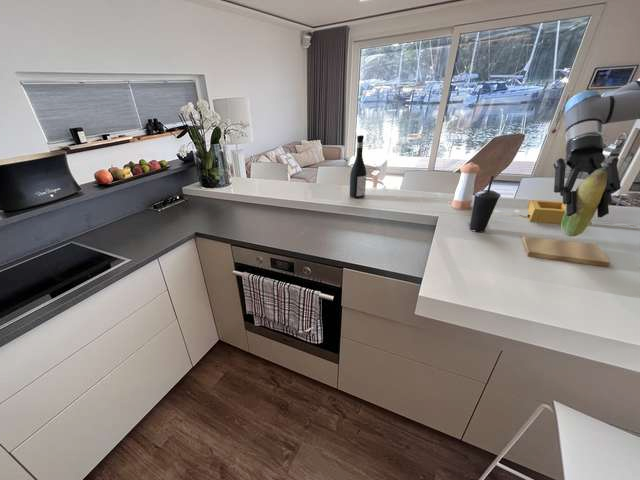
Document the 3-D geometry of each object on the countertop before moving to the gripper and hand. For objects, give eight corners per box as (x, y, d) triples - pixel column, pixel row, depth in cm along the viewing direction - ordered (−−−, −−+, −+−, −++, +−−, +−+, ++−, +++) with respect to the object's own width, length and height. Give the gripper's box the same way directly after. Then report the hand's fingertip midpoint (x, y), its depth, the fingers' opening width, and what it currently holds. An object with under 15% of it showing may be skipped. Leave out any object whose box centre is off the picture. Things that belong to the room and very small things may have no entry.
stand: (562, 214, 113) (567, 202, 110) (569, 225, 104) (575, 212, 102) (525, 211, 118) (530, 199, 116) (529, 221, 110) (534, 208, 107)
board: (594, 248, 89) (596, 244, 88) (607, 267, 81) (610, 262, 80) (522, 240, 98) (523, 236, 97) (527, 256, 89) (528, 251, 88)
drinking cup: (493, 233, 103) (511, 178, 93) (469, 233, 105) (485, 179, 95) (484, 225, 110) (500, 172, 100) (462, 225, 111) (475, 173, 101)
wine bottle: (367, 195, 152) (372, 134, 137) (359, 199, 148) (363, 137, 133) (354, 193, 158) (357, 134, 143) (346, 197, 153) (348, 136, 138)
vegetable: (586, 241, 83) (623, 171, 73) (559, 240, 85) (592, 171, 75) (576, 233, 88) (609, 166, 78) (550, 231, 90) (580, 166, 80)
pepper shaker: (448, 204, 131) (457, 161, 122) (463, 203, 131) (474, 159, 122) (457, 210, 125) (468, 164, 116) (473, 208, 125) (486, 163, 116)
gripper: (616, 149, 84) (621, 221, 80) (537, 151, 91) (537, 218, 86) (638, 132, 77) (645, 210, 73) (550, 135, 84) (552, 207, 79)
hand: (587, 214), depth 79 cm, fingers closed on vegetable, 6 cm apart
